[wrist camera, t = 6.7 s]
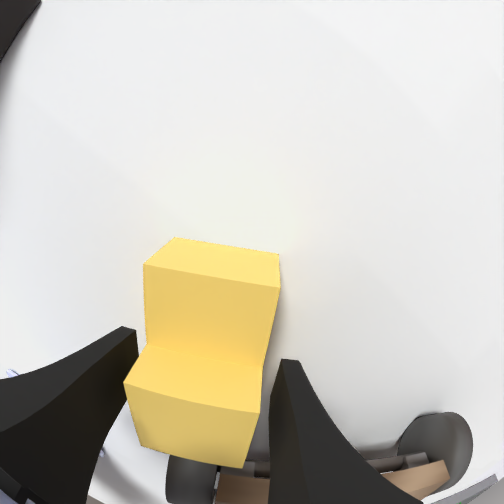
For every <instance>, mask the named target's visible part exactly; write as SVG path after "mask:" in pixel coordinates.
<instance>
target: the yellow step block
mask: <svg viewBox="0 0 504 504" xmlns="http://www.w3.org/2000/svg"><path fill="white" fill-rule="evenodd" d="M143 285H144V311H145V328H146V341H147V344H146V346H145V348H144V349H143V351H142V353H141V354H140V356H139V357H138V359H137V361H136V362H135V364H134V365H133V367H132V369H131V370H130V372H129V374H128V375H127V377H126V379H125V380H124V382H123V383H124V388H125V392H126V396H127V400H128V404H129V408H130V411H131V415H132V419H133V422H134V425H135V429H136V432H137V435H138V438H139V441H140V444H141V446H143V447H146V448H150V449H153V450H156V451H160V452H163V453H167V454H170V455H174V456H178V457H182V458H186V459H191V460H195V461H200V462H205V463H210V464H215V465H221V466H227V467H234V468H243V465H244V462H245V459H246V456H247V453H248V450H249V447H250V443H251V440H252V437H253V434H254V431H255V427H256V424H257V421H258V418H259V414H260V402H261V386H262V370H263V364H264V360H265V355H266V351H267V347H268V343H269V338H270V334H271V329H272V325H273V321H274V316H275V312H276V307H277V302H278V298H279V293H280V288H281V286H280V270H279V255H278V254H276V253H270V252H264V251H258V250H251V249H245V248H239V247H233V246H226V245H220V244H214V243H208V242H202V241H195V240H189V239H183V238H176V237H174V238H173V239H172V240H171V241H169V242H168V243H167V244H166V245H165V246H163V247H162V248H161V249H160V250H159V251H158V252H156V253H155V254H154V255H153V256H152V257H151V258H149V259H148V260H147V261H146V262H145V263H144V264H143Z"/></svg>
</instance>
